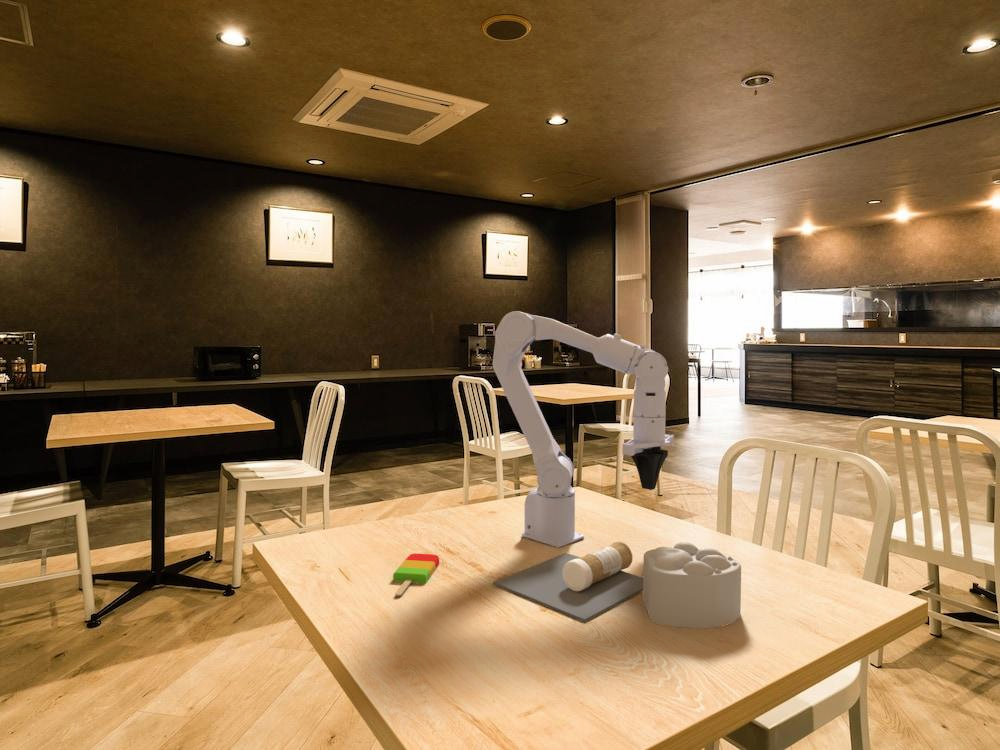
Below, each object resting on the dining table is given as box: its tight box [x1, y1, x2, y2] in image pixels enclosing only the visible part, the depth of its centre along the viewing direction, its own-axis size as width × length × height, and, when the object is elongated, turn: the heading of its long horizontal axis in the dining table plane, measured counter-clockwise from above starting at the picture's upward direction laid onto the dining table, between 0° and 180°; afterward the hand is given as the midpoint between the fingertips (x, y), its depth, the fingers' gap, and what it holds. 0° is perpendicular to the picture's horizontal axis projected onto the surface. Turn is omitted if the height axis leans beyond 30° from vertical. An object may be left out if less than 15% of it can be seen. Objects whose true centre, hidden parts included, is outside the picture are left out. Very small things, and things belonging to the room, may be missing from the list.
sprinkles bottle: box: [562, 541, 633, 592], centre depth 97 cm, size 5×5×13 cm
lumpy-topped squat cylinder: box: [642, 541, 742, 629], centre depth 87 cm, size 10×13×9 cm
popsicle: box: [392, 553, 440, 597], centre depth 99 cm, size 6×15×2 cm, turn 171°
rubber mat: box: [492, 552, 643, 623], centre depth 96 cm, size 18×18×1 cm
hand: (648, 488), depth 114 cm, fingers closed
